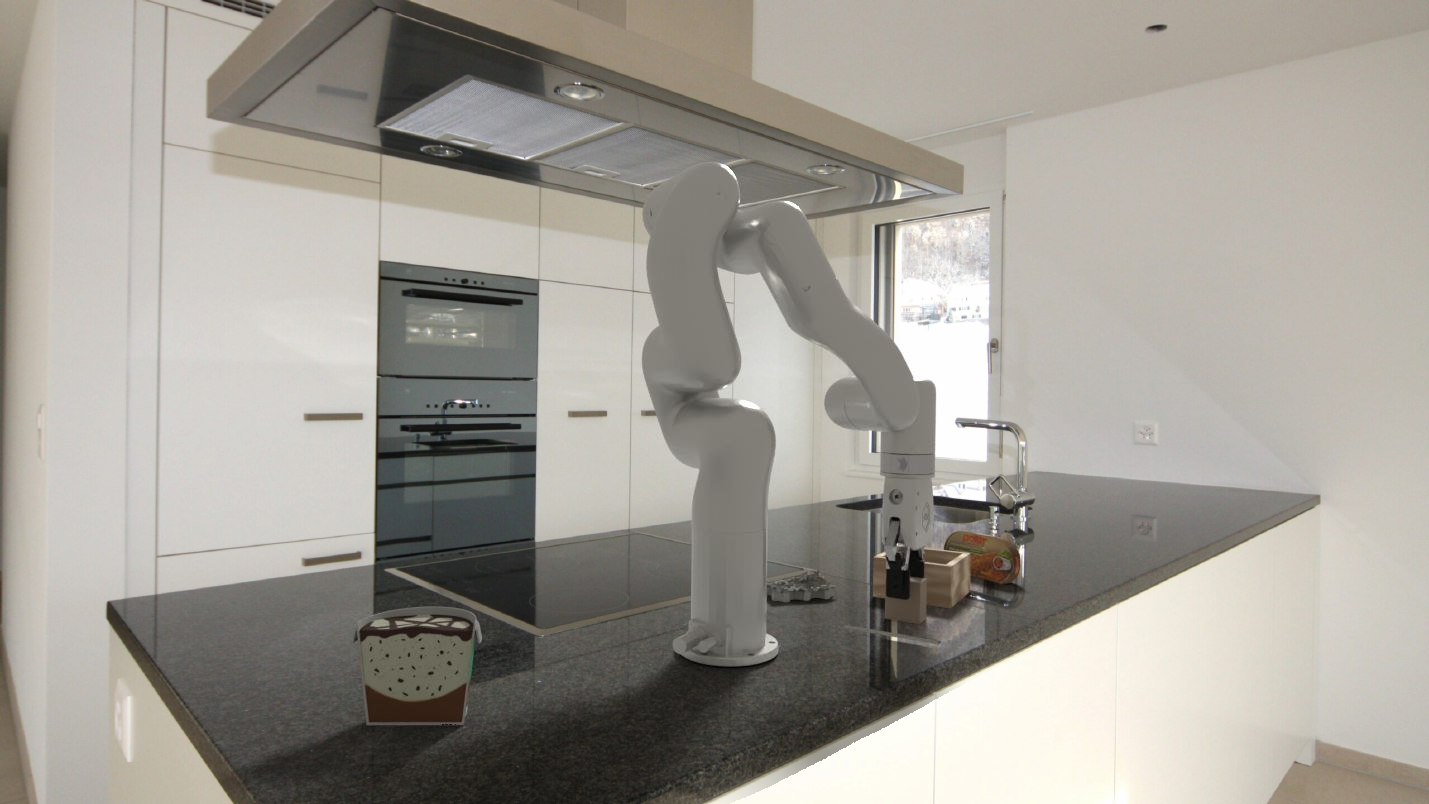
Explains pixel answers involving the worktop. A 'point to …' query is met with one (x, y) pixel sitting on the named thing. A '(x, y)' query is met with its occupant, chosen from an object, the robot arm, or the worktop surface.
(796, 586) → the egg carton
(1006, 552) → the tin
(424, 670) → the food container
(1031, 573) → the worktop surface
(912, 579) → the lid
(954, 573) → the box
